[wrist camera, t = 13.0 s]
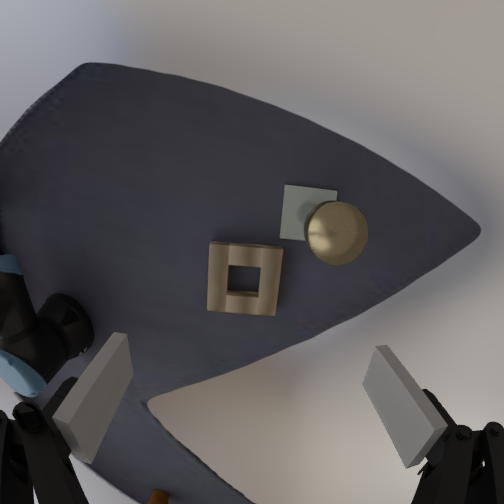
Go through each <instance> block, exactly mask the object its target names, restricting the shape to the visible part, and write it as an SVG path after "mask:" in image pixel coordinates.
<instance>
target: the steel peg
mask: <svg viewBox="0 0 504 504" xmlns="http://www.w3.org/2000/svg"><path fill="white" fill-rule="evenodd" d="M297 217H298V220H299V222H300V223H301V224H302V225H303V226H304V237H305V240H306V243H307V245H308V246H309V248H310V249H311V250H312V251H313V252H314V254H315V255H316V256H317V257H318V258H319V259H320V260H322V261H323V262H326V263H328V264H332V265H342V264H346V263H348V262H351V261H352V260H354V259H355V258H356V257H358V256H359V254H360V253H361V252H362V251H363V249H364V247H365V245H366V242H367V238H368V226H367V222H366V220H365V218H364V216H363V214H362V213H361V212H360V211H359V210H358V209H357V208H356V207H354V206H352V205H350V204H347V203H344V202H340V201H336V200H329V201H324V202H322V203H320V204H318V205H316V204H313V203H305V204H303V205H301V206H300V208H299V209H298V212H297Z"/></svg>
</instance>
